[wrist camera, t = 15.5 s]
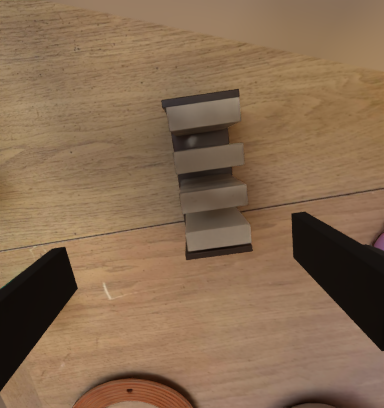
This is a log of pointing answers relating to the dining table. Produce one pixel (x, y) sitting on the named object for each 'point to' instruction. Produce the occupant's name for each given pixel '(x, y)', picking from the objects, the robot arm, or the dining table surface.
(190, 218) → the cream book
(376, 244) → the teapot
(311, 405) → the chamber pot
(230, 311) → the dining table surface
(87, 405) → the ring
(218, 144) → the cream rack
